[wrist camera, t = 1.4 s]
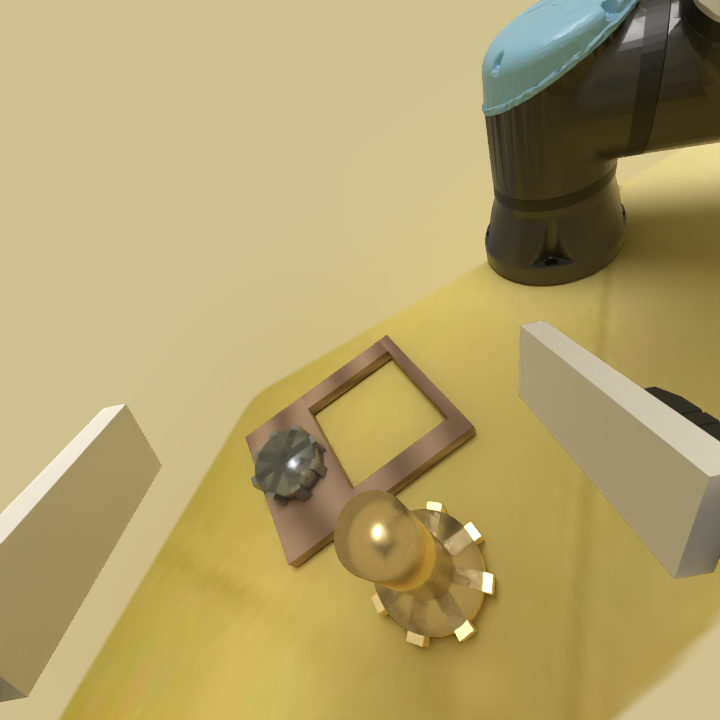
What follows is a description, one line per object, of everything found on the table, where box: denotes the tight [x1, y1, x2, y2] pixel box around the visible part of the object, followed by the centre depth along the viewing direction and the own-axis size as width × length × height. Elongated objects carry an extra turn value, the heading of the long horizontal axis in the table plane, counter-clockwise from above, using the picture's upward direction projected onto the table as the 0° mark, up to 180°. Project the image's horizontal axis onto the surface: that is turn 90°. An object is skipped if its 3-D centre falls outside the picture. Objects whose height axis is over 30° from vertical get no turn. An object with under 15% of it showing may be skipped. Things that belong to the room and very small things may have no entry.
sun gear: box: [251, 425, 328, 506], centre depth 38 cm, size 8×8×2 cm
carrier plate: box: [245, 335, 476, 567], centre depth 39 cm, size 21×16×2 cm
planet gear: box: [334, 490, 495, 647], centre depth 25 cm, size 10×10×14 cm
